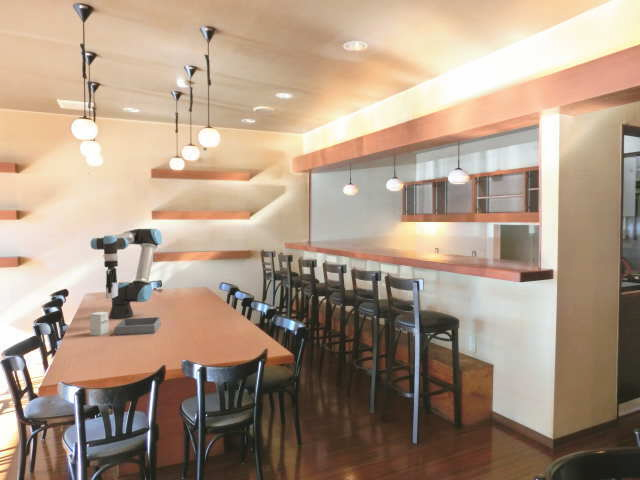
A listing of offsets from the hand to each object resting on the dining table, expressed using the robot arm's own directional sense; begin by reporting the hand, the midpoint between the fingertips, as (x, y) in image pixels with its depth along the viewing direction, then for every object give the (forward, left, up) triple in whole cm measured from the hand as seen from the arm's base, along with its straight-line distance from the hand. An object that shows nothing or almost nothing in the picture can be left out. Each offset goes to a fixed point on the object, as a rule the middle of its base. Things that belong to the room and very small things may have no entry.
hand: (112, 296), depth 276 cm
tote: (+9, +17, -20) cm, 28 cm away
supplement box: (+14, -4, -20) cm, 25 cm away
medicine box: (0, 0, -1) cm, 1 cm away
